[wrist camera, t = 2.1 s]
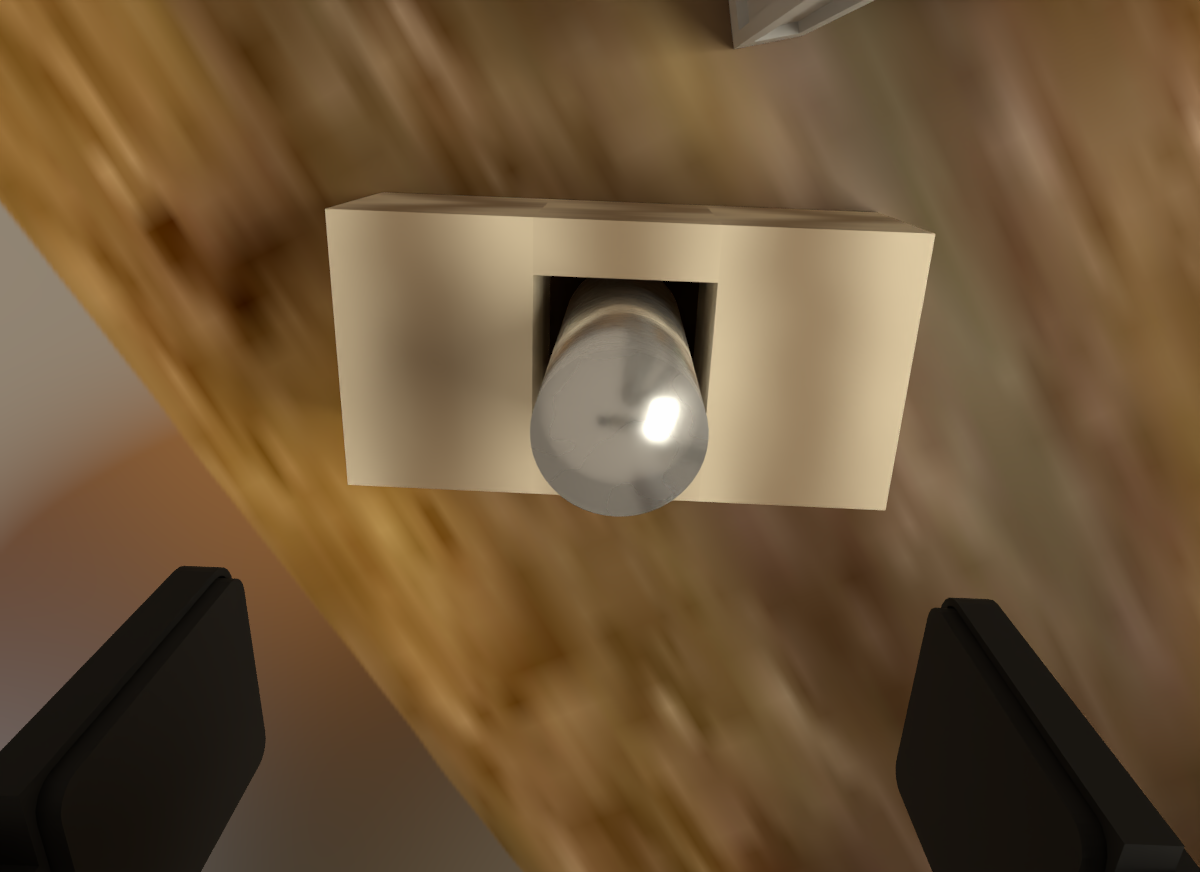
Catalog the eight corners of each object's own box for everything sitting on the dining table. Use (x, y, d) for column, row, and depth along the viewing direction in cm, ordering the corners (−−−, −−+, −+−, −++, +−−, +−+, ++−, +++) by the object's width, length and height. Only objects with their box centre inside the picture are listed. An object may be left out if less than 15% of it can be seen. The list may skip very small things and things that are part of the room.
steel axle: (684, 268, 30) (716, 353, 19) (676, 381, 32) (701, 520, 21) (566, 263, 30) (530, 345, 19) (564, 376, 32) (529, 512, 21)
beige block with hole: (877, 212, 29) (935, 233, 24) (841, 443, 33) (885, 509, 27) (382, 192, 30) (324, 208, 24) (395, 422, 33) (347, 484, 27)
